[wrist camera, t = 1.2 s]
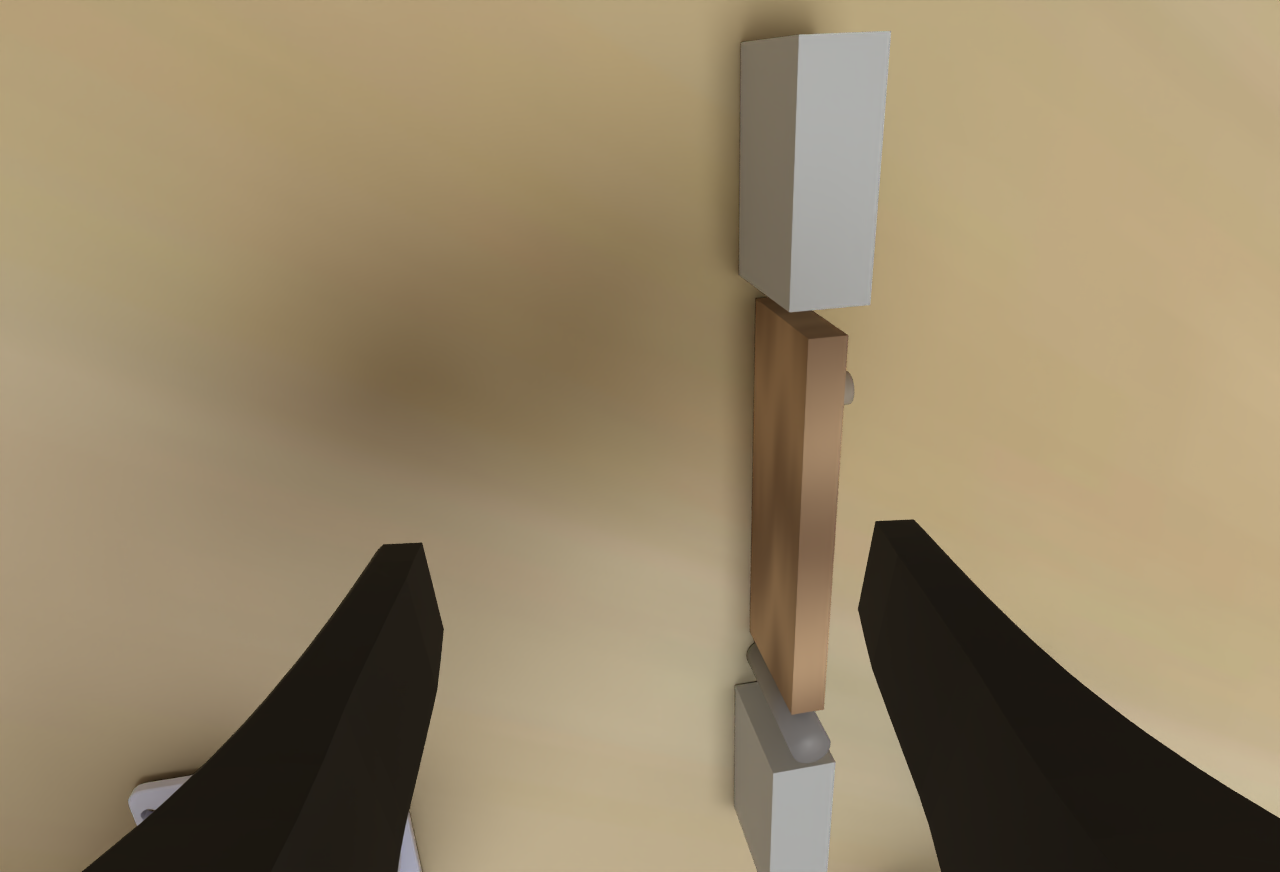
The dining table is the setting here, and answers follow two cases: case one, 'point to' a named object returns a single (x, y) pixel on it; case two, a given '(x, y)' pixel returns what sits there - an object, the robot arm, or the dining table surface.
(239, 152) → the dining table surface
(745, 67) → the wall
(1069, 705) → the robot arm
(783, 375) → the door
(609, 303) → the dining table surface
